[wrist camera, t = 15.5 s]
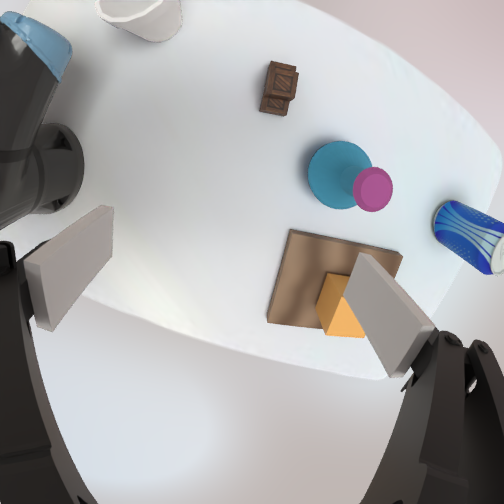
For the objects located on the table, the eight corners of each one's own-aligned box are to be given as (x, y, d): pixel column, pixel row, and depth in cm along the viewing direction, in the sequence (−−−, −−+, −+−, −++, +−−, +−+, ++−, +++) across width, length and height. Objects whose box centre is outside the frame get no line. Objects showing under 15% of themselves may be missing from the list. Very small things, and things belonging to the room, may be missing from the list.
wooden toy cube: (315, 308, 45) (325, 335, 38) (327, 273, 42) (341, 297, 36) (349, 312, 46) (363, 338, 39) (363, 279, 43) (381, 302, 37)
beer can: (467, 210, 42) (524, 240, 27) (449, 248, 45) (501, 287, 30) (442, 190, 41) (505, 218, 26) (423, 232, 44) (479, 272, 29)
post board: (266, 315, 49) (271, 350, 40) (290, 229, 43) (301, 252, 34) (365, 326, 51) (382, 357, 43) (397, 251, 45) (424, 275, 37)
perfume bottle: (289, 181, 40) (315, 206, 26) (321, 128, 37) (364, 125, 23) (339, 212, 42) (382, 250, 28) (370, 162, 39) (426, 179, 25)
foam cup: (123, 49, 30) (83, 23, 18) (143, 0, 27) (113, -37, 15) (181, 54, 32) (157, 22, 20) (201, 3, 28) (187, -40, 16)
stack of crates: (325, 152, 39) (340, 156, 33) (223, 131, 37) (219, 129, 31) (343, 61, 33) (361, 50, 27) (243, 37, 32) (244, 20, 25)
